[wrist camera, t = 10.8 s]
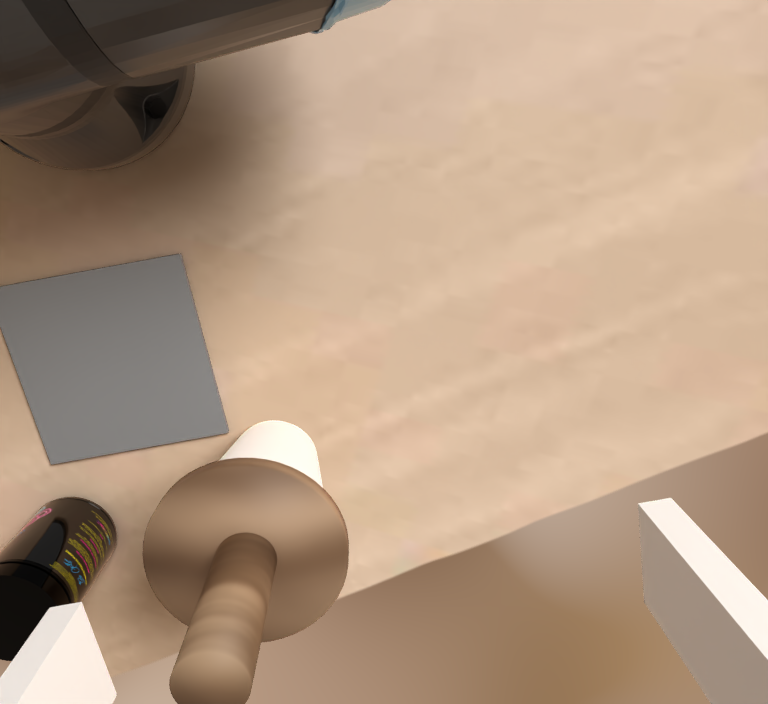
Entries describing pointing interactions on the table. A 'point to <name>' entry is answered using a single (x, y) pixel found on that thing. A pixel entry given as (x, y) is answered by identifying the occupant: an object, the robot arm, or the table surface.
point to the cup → (278, 447)
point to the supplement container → (51, 565)
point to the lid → (241, 568)
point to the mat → (112, 359)
